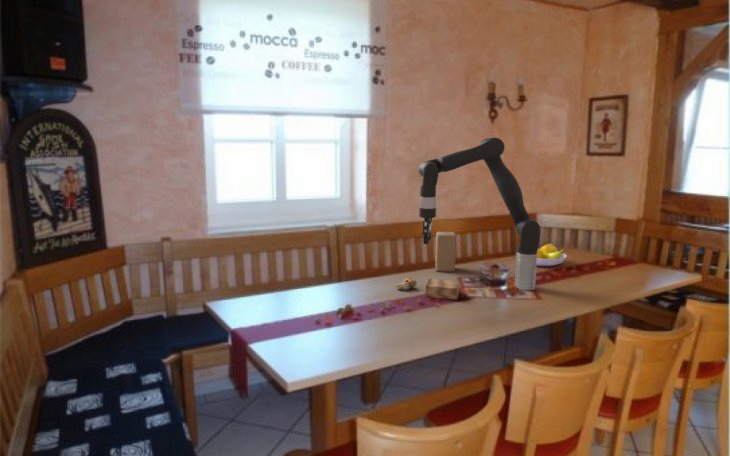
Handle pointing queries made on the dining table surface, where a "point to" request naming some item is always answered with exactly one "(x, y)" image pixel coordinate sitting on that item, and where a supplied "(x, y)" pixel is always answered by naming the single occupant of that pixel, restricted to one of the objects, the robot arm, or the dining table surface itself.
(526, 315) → the dining table surface
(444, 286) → the oak step
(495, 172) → the robot arm
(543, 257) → the fruit bowl
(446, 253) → the wooden block
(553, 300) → the dining table surface
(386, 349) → the dining table surface
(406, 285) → the chocolate bunny
